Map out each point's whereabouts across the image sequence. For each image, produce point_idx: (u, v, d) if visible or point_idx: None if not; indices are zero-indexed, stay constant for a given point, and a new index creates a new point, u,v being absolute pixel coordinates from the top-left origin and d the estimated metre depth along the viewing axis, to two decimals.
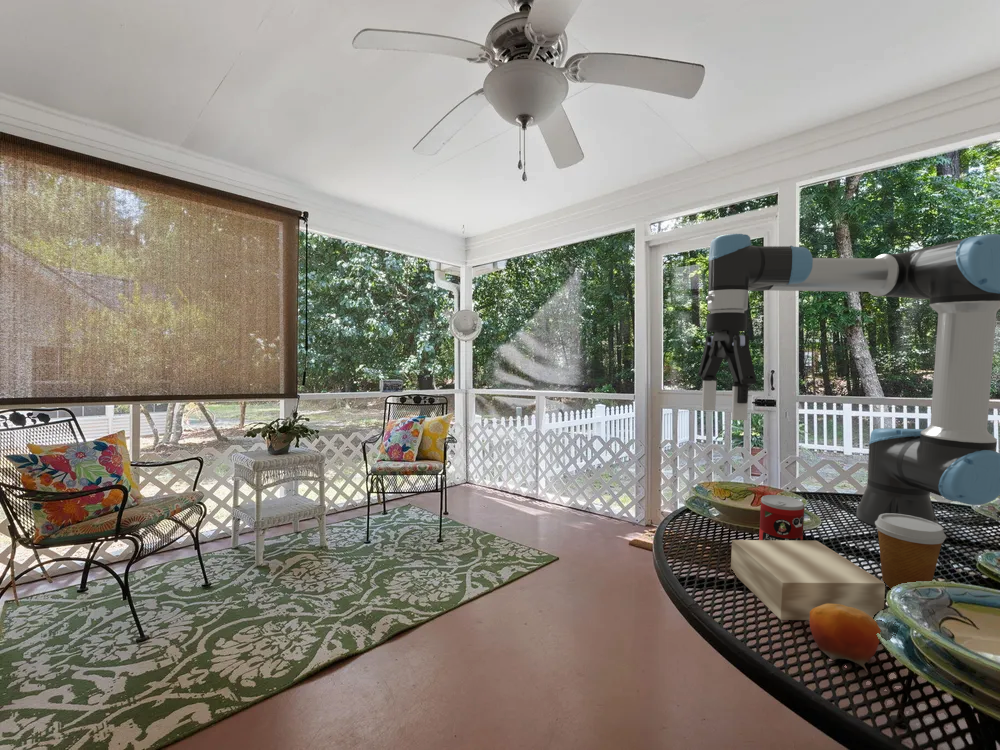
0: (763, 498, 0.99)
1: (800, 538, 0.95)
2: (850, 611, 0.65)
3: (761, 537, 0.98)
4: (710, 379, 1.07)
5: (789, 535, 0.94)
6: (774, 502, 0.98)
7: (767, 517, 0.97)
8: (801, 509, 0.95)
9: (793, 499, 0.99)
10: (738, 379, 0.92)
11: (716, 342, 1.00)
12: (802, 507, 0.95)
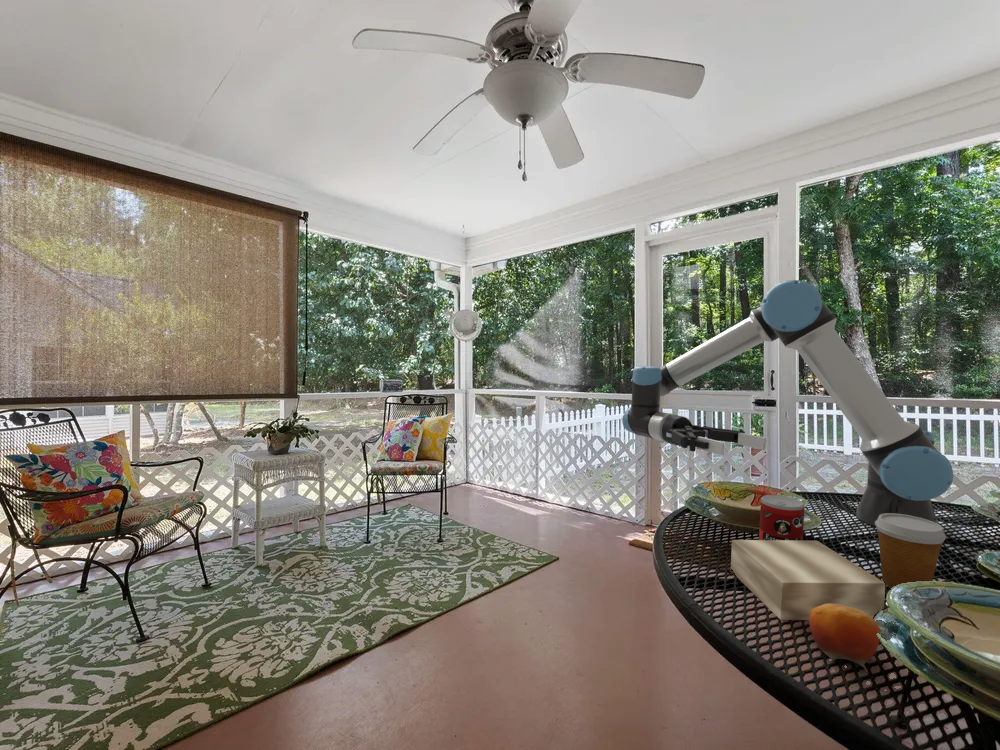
0: (763, 498, 0.99)
1: (800, 538, 0.95)
2: (850, 611, 0.65)
3: (761, 537, 0.98)
4: None
5: (789, 535, 0.94)
6: (774, 502, 0.98)
7: (767, 517, 0.97)
8: (801, 509, 0.95)
9: (793, 499, 0.99)
10: (689, 445, 1.09)
11: None
12: (802, 507, 0.95)
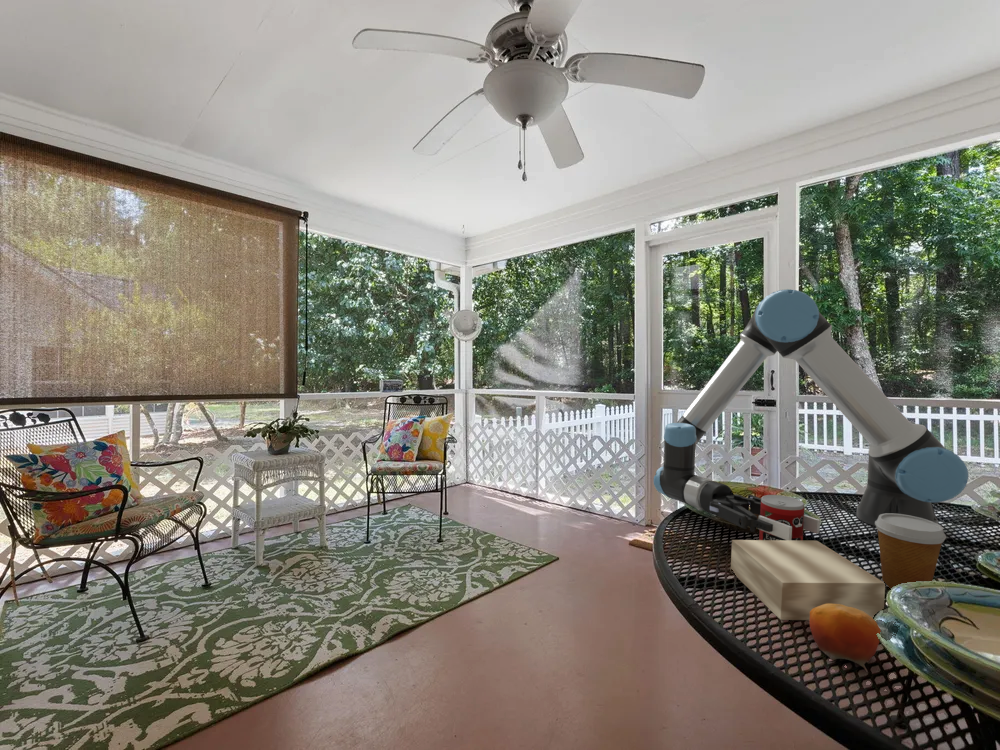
0: (763, 498, 0.99)
1: (800, 538, 0.95)
2: (850, 611, 0.65)
3: (761, 537, 0.98)
4: None
5: None
6: (774, 502, 0.98)
7: (767, 517, 0.97)
8: (801, 509, 0.95)
9: (793, 499, 0.99)
10: None
11: None
12: (802, 507, 0.95)
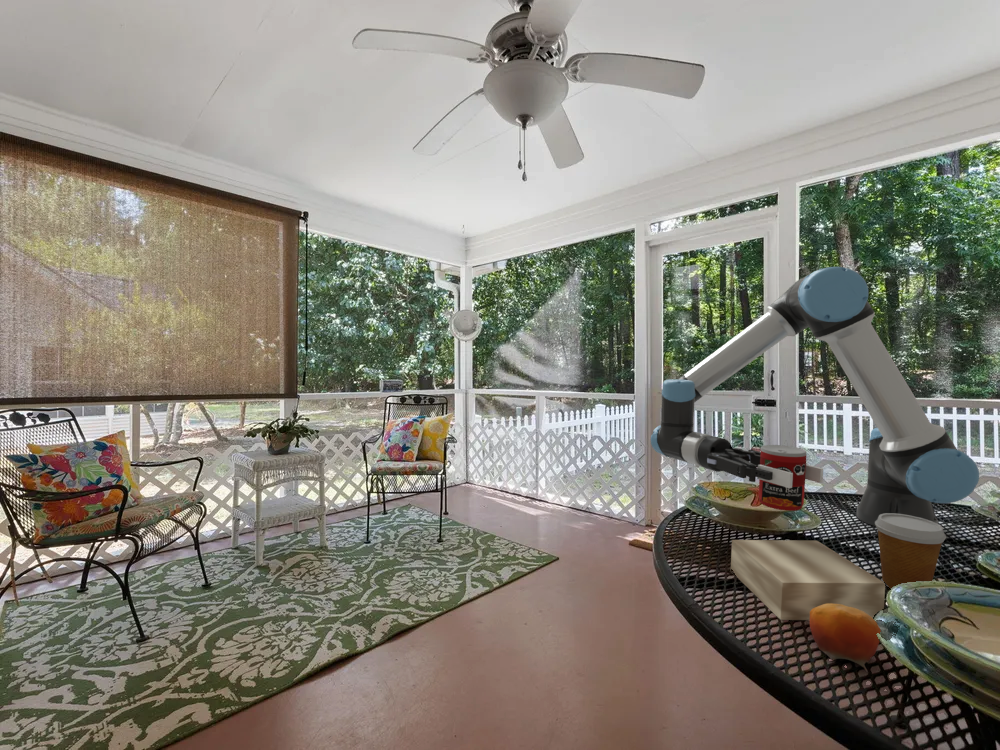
0: (763, 447, 0.94)
1: (802, 487, 0.90)
2: (850, 611, 0.65)
3: (761, 487, 0.93)
4: None
5: None
6: (775, 450, 0.93)
7: None
8: (803, 456, 0.89)
9: (795, 448, 0.94)
10: None
11: None
12: (804, 454, 0.90)
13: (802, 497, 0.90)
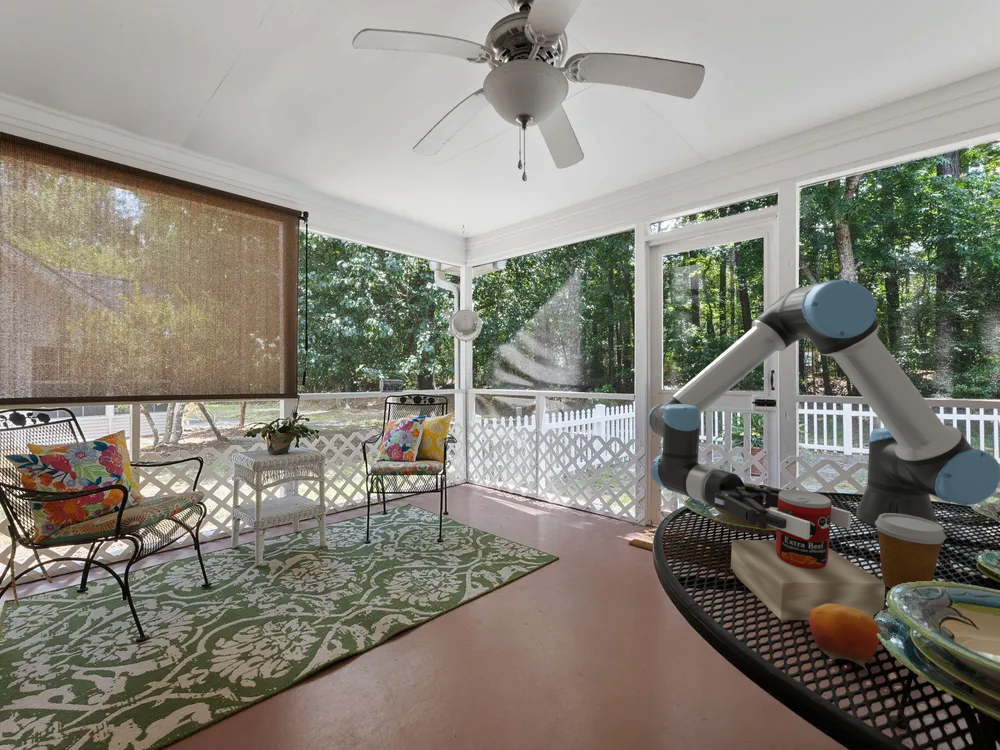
0: (781, 493, 0.83)
1: (827, 542, 0.79)
2: (850, 611, 0.65)
3: (779, 540, 0.82)
4: None
5: (813, 538, 0.78)
6: (795, 498, 0.81)
7: None
8: (828, 507, 0.78)
9: (817, 495, 0.83)
10: None
11: None
12: (829, 504, 0.78)
13: (827, 553, 0.79)
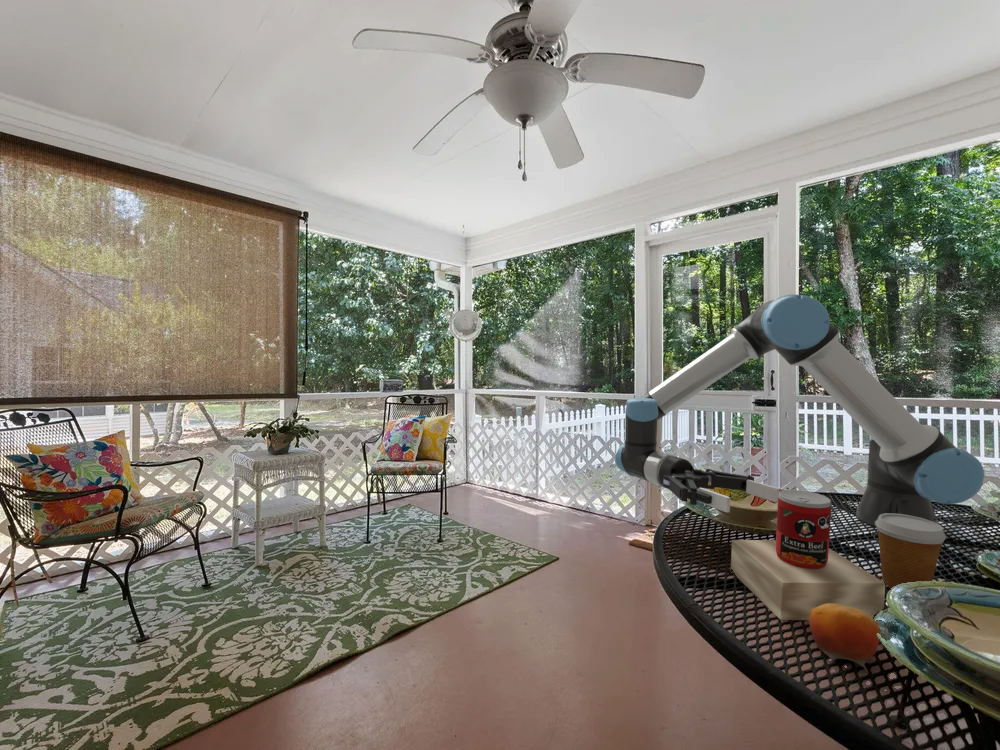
0: (781, 494, 0.83)
1: (827, 542, 0.79)
2: (850, 611, 0.65)
3: (779, 540, 0.82)
4: None
5: (813, 538, 0.78)
6: (794, 498, 0.81)
7: (787, 517, 0.80)
8: (828, 507, 0.78)
9: (817, 495, 0.83)
10: None
11: None
12: (829, 504, 0.79)
13: (827, 553, 0.79)
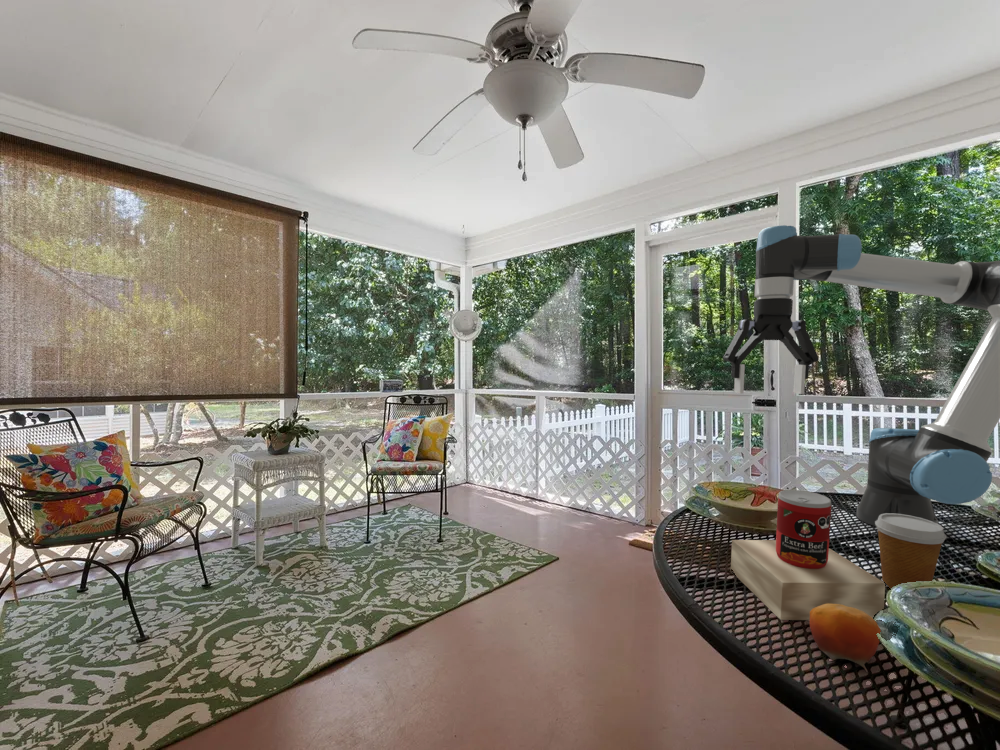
0: (781, 494, 0.83)
1: (827, 542, 0.79)
2: (850, 611, 0.65)
3: (779, 540, 0.82)
4: (802, 363, 1.08)
5: (813, 537, 0.78)
6: (794, 498, 0.81)
7: (787, 517, 0.80)
8: (828, 507, 0.78)
9: (817, 495, 0.83)
10: None
11: None
12: (829, 504, 0.79)
13: (827, 553, 0.79)
